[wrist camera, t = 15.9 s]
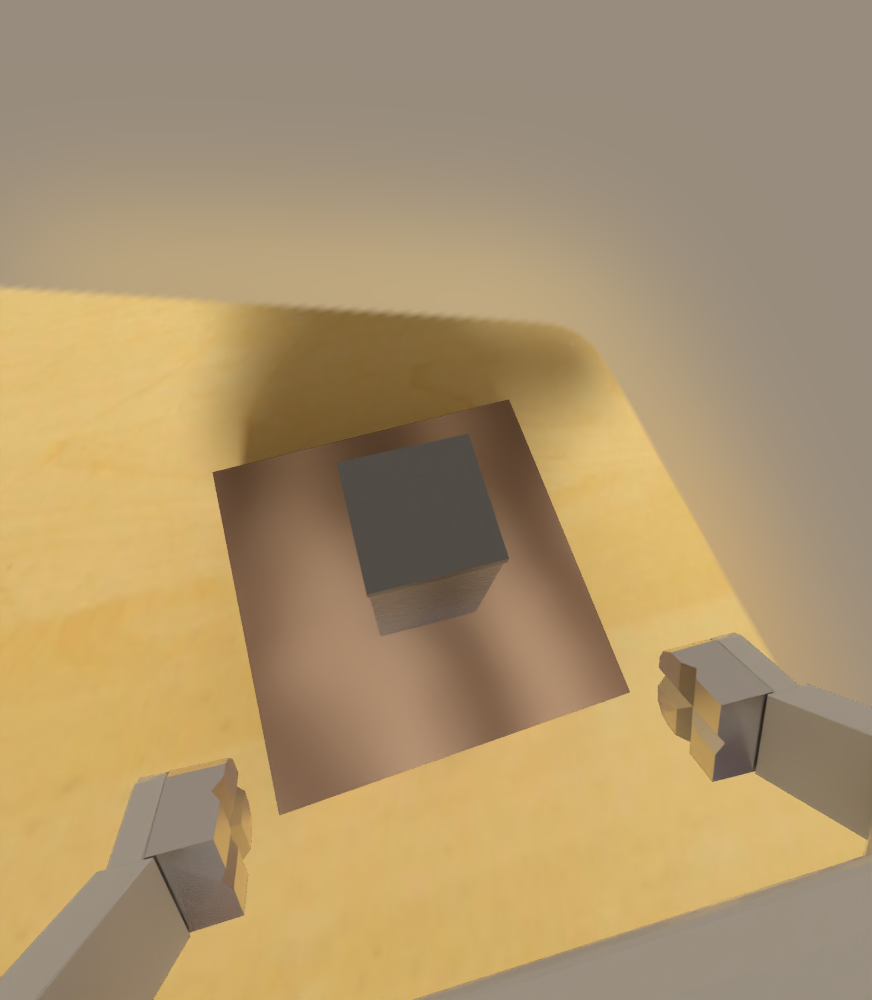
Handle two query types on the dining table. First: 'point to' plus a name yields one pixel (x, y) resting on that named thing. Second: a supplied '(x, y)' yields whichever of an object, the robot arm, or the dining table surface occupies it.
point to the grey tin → (422, 532)
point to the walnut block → (410, 653)
